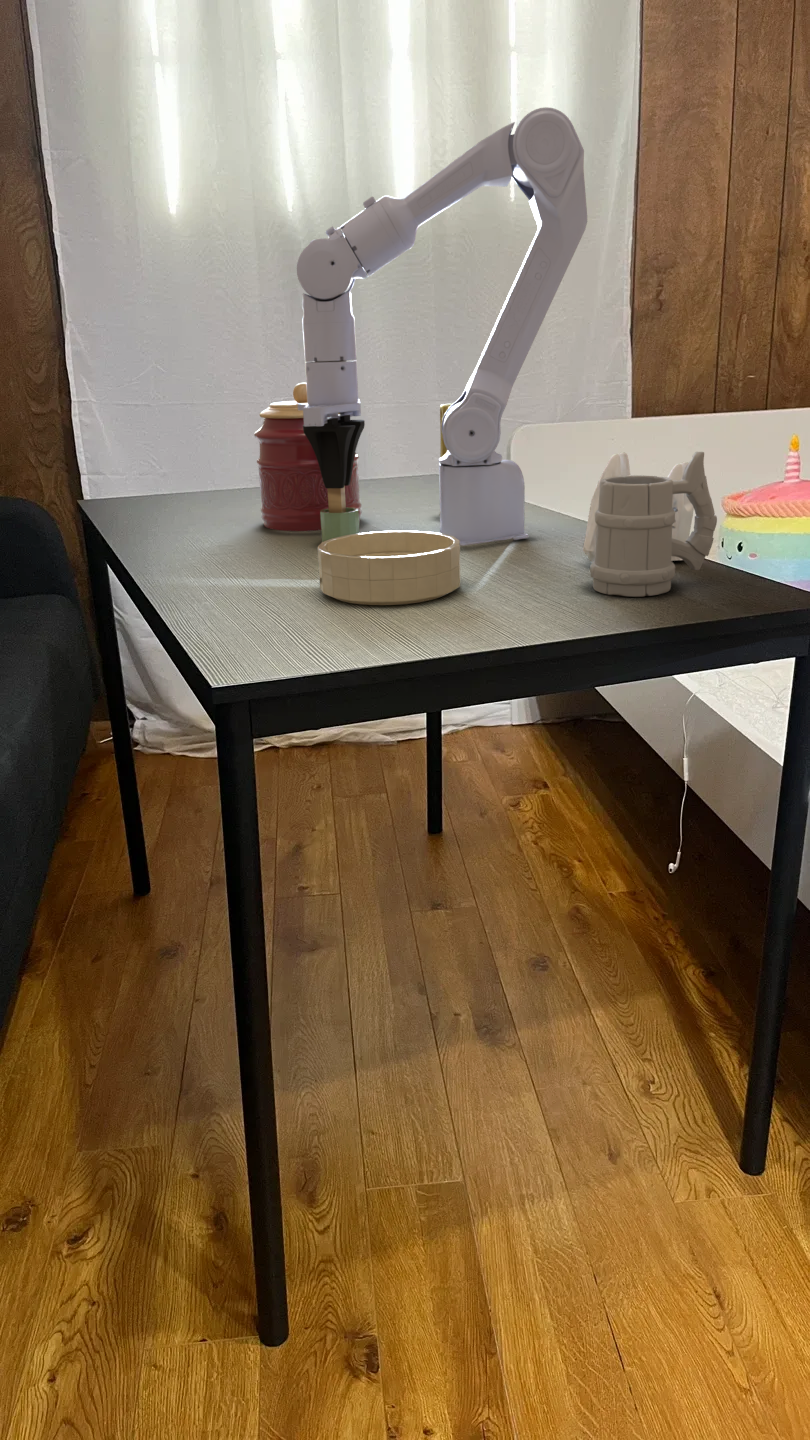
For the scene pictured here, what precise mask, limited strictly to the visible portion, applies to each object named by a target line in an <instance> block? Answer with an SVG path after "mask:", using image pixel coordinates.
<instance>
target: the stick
mask: <svg viewBox="0 0 810 1440" xmlns="http://www.w3.org/2000/svg"><path fill="white" fill-rule="evenodd" d="M328 505H329V512H330V513H340V512H346V502H345V485H344V488H328Z"/></svg>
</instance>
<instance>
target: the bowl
mask: <svg viewBox="0 0 810 1440" xmlns="http://www.w3.org/2000/svg"><path fill="white" fill-rule="evenodd" d="M317 560H318V575H319V576H318V578H319V589H320V591H321V592H322V593H323V594H324V595H327V596H329V597H331V598H334V599H336V600H338V601H341V602H345V603H348V604H349V603H350V604H354V605H355V604H356V605H363V606H364V605H365V606H398V605H401V606H402V605H411V604H418V603H423V602H428V601H432V600H436V599H439V598H442V597H444V596H446V595H448V594H449V593H453V591H455V590H457V589H459V588H460V586H461V582H462V581H461V578H462V577H461V575H462V573H461V546H460V540H458V539H457V538H455V537H454V536H450V535H446V534H442V533H440V532H434V531H423V530H421V531H420V530H382V531H381V530H379V531H369V532H368V531H367V532H359V534H351V535H345V536H341V537H336V538H332V539H329V540H327V541H324V542H322V541H321V542H320V543H319V544H318V546H317Z"/></svg>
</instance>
